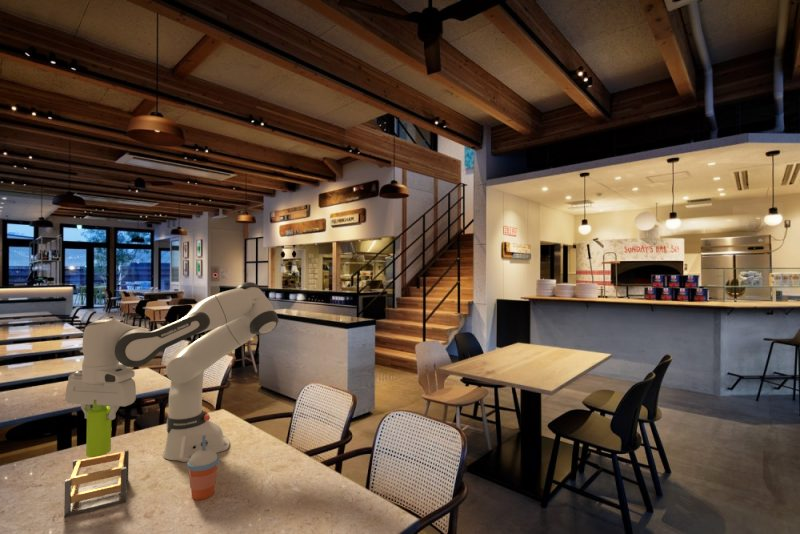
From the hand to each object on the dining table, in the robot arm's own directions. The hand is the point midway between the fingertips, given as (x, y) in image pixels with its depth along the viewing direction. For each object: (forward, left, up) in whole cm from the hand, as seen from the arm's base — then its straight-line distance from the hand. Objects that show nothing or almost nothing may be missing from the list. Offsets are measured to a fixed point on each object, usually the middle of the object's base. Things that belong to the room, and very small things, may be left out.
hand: (100, 418), depth 119 cm
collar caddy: (0, 0, -24) cm, 24 cm away
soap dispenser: (0, 0, -10) cm, 10 cm away
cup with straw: (-27, +14, -24) cm, 39 cm away
